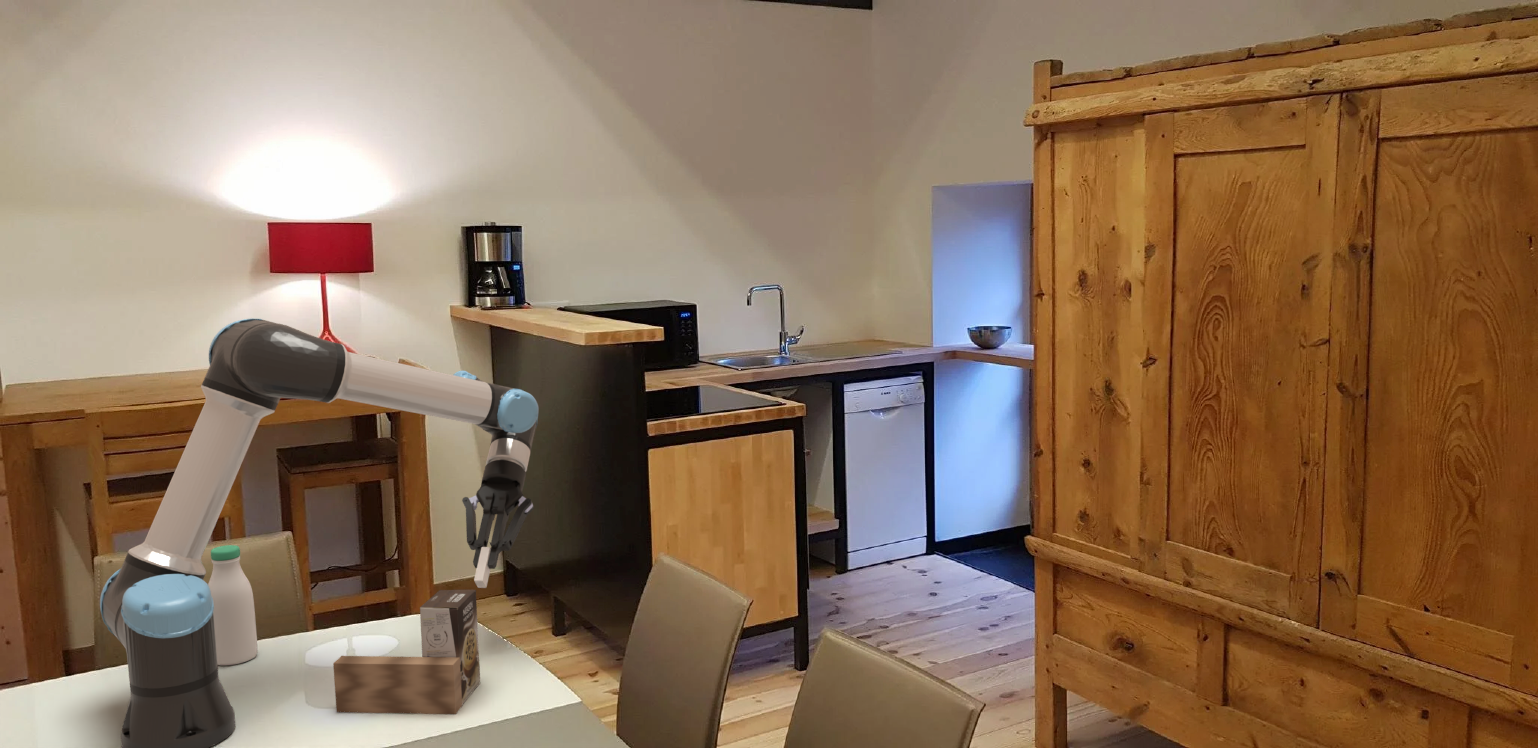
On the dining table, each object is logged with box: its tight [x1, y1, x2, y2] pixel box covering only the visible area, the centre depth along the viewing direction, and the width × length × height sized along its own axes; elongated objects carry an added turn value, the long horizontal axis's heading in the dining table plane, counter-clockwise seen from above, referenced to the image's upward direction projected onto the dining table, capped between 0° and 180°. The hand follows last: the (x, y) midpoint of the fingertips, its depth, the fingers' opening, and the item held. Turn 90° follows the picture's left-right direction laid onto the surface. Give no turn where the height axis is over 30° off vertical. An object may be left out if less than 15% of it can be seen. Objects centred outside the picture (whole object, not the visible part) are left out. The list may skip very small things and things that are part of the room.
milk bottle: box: [207, 544, 259, 666], centre depth 199 cm, size 8×8×20 cm
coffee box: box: [419, 589, 481, 705], centre depth 183 cm, size 9×6×16 cm
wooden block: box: [332, 655, 463, 715], centre depth 178 cm, size 19×3×8 cm, turn 86°
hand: (480, 584), depth 196 cm, fingers closed
